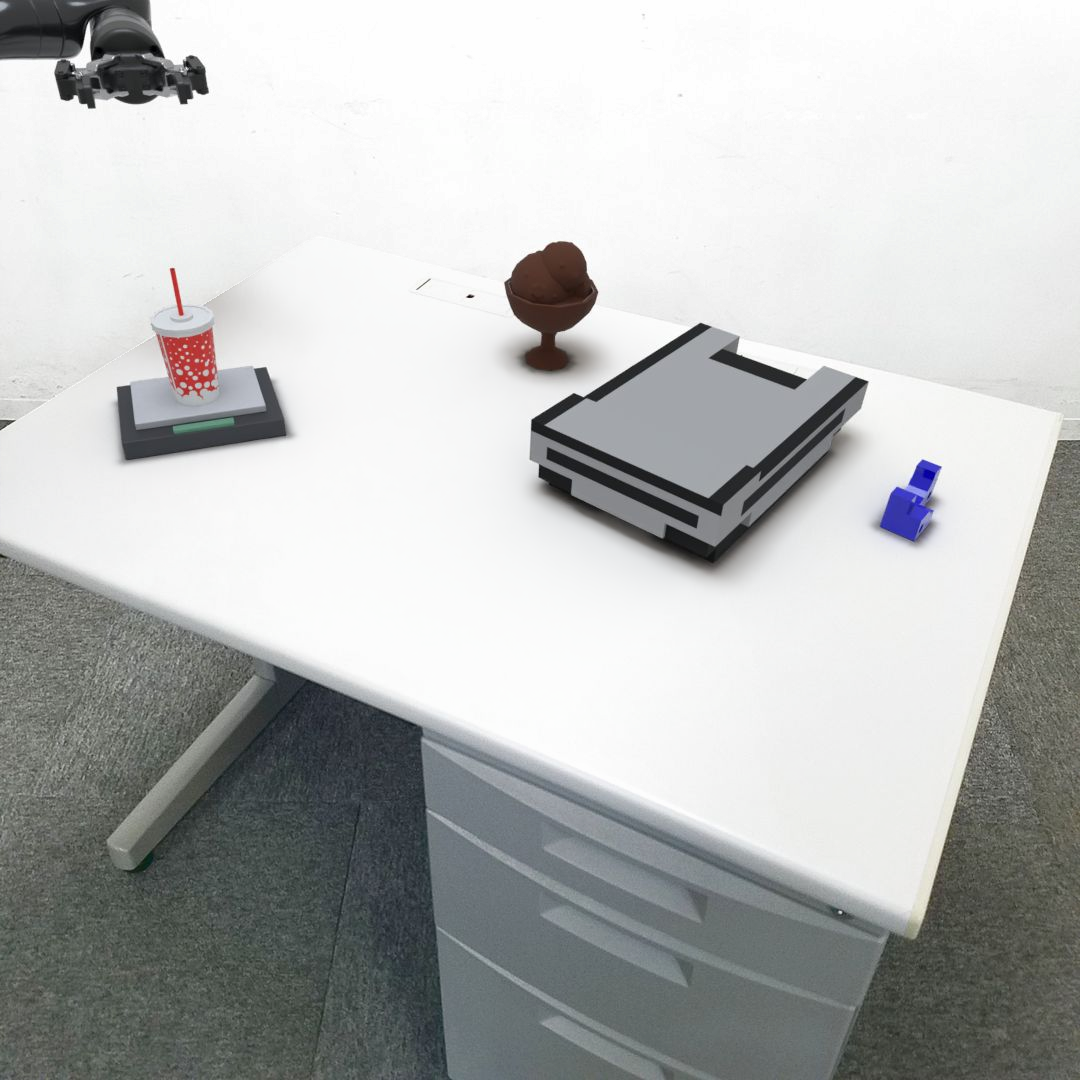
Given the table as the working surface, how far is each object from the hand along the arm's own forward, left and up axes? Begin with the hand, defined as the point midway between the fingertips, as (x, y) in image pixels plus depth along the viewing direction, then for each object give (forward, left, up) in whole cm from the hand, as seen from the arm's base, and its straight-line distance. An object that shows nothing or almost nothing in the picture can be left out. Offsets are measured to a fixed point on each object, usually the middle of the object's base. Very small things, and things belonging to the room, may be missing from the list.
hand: (136, 95), depth 93 cm
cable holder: (+64, -50, -30) cm, 87 cm away
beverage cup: (0, -11, -27) cm, 29 cm away
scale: (0, -11, -30) cm, 32 cm away
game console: (+48, -35, -30) cm, 67 cm away
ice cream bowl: (+41, -9, -30) cm, 52 cm away
